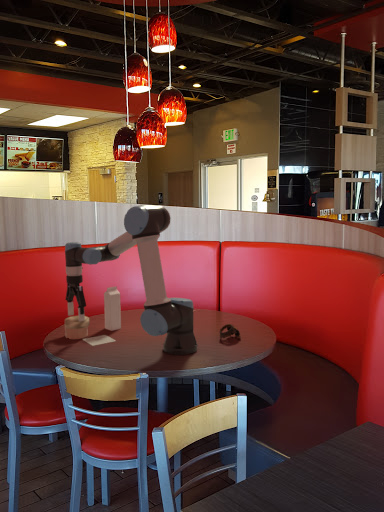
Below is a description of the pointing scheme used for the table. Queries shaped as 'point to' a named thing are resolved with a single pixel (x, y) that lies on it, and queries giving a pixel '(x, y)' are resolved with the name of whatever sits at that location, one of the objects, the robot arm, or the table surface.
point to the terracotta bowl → (76, 333)
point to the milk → (112, 309)
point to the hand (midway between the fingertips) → (76, 318)
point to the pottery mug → (229, 331)
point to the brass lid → (76, 322)
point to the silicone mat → (99, 340)
